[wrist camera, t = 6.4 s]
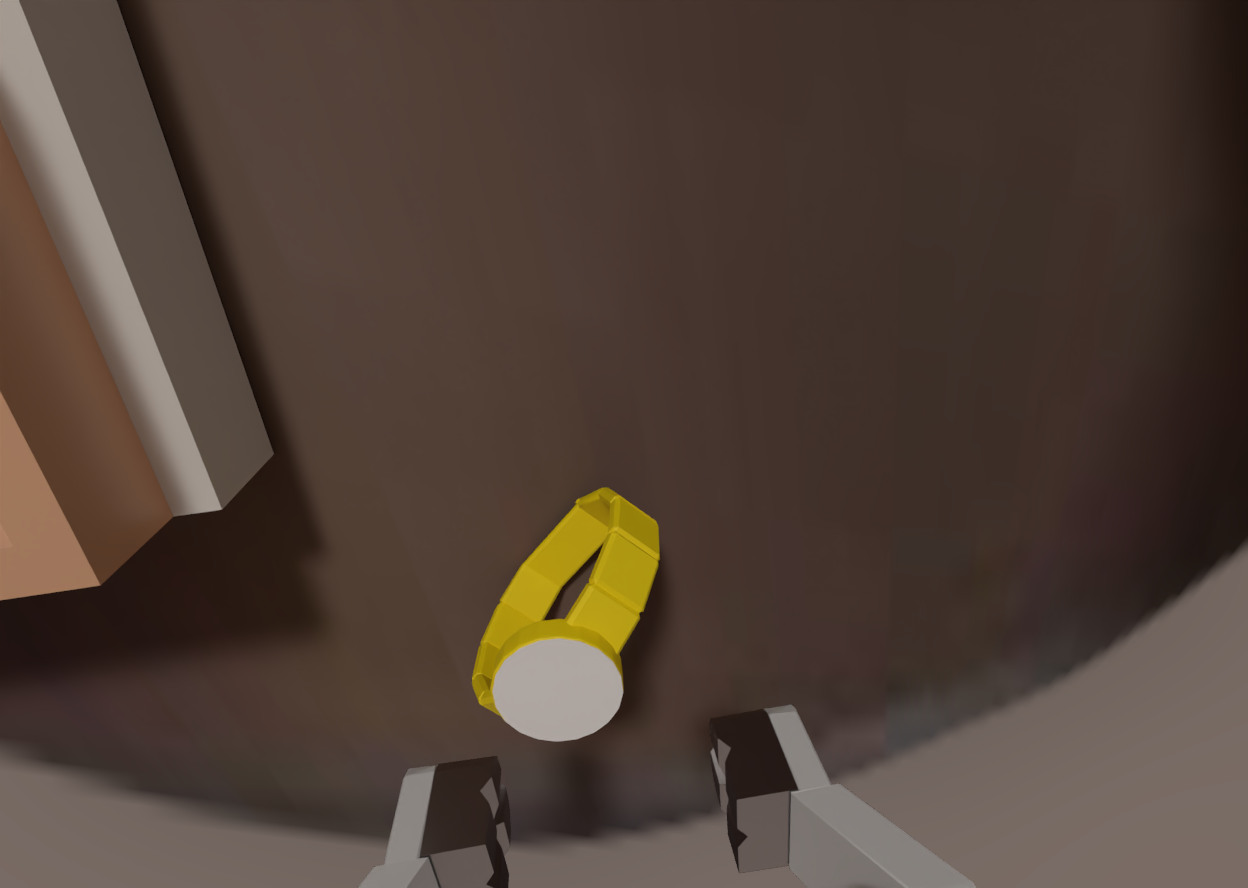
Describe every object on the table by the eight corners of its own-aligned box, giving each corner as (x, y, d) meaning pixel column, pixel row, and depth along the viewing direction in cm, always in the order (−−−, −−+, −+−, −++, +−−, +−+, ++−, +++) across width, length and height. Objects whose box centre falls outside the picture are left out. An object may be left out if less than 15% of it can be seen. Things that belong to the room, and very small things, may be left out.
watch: (592, 442, 17) (600, 549, 12) (667, 498, 18) (708, 622, 13) (467, 591, 19) (423, 751, 13) (542, 637, 20) (530, 805, 14)
